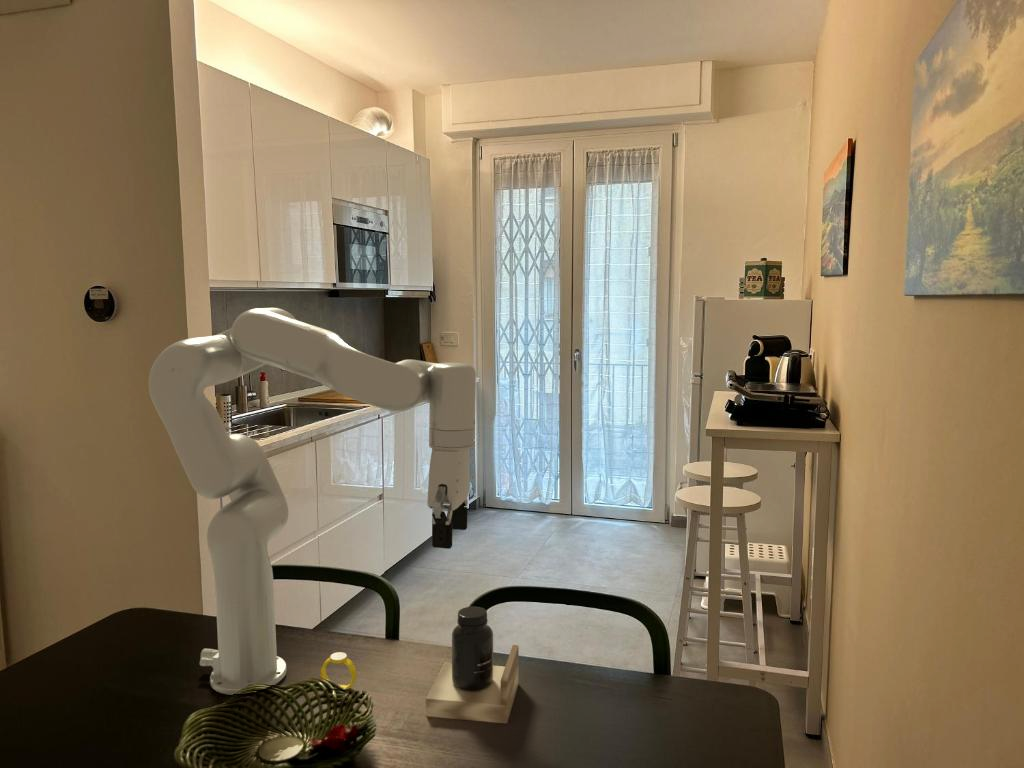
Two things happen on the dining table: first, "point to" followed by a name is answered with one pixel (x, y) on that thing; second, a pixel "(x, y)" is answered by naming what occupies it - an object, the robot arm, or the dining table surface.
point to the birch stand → (476, 694)
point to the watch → (337, 659)
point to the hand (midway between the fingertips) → (450, 537)
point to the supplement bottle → (472, 650)
